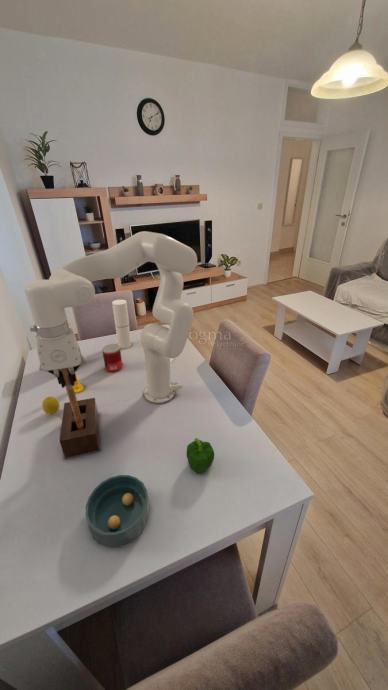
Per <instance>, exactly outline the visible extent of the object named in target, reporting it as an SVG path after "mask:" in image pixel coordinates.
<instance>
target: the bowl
mask: <svg viewBox="0 0 388 690" xmlns="http://www.w3.org/2000/svg"><path fill="white" fill-rule="evenodd" d="M126 493H131V494H132V495H133V497H134V500H133V502H132V504H131V505H128V506H126V505H124V504H123V502H122V498H123V496H124V495H125V494H126ZM148 494H149V493H148V490H147V488H146V486H145V485H144V482H143V481H141V480H140V479H138V477H135V476H132V475H129V474H119V475H115V476H111V477H109V478H107V479H105V480H103V481H101V483H99V484H98V485H97V486H96V487H95V488H94V489H93V490H92V491H91V494H90V495H89V496H88V499H87V502H86V504H85V519H86V522H87V526H88V529H89V531H90V534H91V536H92V538H93V539H94V540H95V541H96V542H97V544H99V545H102V546H104V547H106V548H118V547H122V546H124V545H128V544H129V543H130V542H132V541H133V540H135V539H137V537H139V535H140V534H141V533H142V532H143V530H144V529H145V527H146V525H147V522H148V520H149V516H150V502H149V495H148ZM114 515H116V516H118V517H119V519H120V524H119V526H118V528H116V529H114V530H112V529H110V528H109V527H108V520H109V518H110V517H111V516H114Z"/></svg>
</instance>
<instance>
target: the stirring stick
mask: <svg viewBox="0 0 388 690" xmlns="http://www.w3.org/2000/svg"><path fill="white" fill-rule="evenodd" d="M61 373H62V376H63V379H64V383H65V387H64V388H65V390H66V393H67V396H68V400H69V402H70V404H71V407H72V411H73V414H74V418H75V421H76V425H77V428H78V430H81V429H84V425H83V421H82V417H81V413H80V410H79V406H78V402H77V401H78V399H77V395H76V393H75V391H74V388H73V386H72V385H71V382H70V378H69V369H68V368H63V369H61Z"/></svg>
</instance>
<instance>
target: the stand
mask: <svg viewBox="0 0 388 690" xmlns="http://www.w3.org/2000/svg"><path fill="white" fill-rule="evenodd" d="M77 402H78V406H79V410H80V413H81V417H82V421H83V425H84V429H81V430H78V428H77V425H76V421H75V418H74V414H73V411H72V407H71V404H70V401H68V402H64V403H63V410H62V417H61V426H60V434H59V444H60V448H61V450H62V453H63V454H62V455H63V457H64V459H68V458H72V457H77V456H78V457H79V456H82V455H86V454H91V453H95V452H99V451H100V433H99V432H100V429H99V427H100V425H99V411H98V406H97V402H96V397H91V398H85V399H80V400H77Z"/></svg>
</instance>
